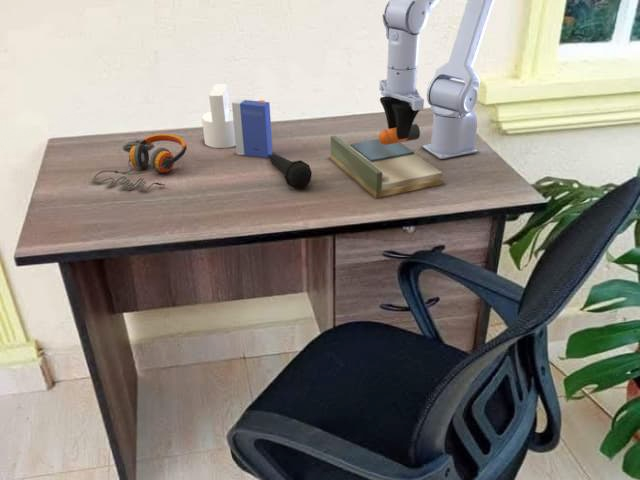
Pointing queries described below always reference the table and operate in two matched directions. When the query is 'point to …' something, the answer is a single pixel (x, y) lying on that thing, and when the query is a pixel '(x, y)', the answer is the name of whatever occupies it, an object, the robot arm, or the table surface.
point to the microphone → (292, 171)
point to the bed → (384, 166)
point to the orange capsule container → (391, 135)
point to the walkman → (252, 128)
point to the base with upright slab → (219, 119)
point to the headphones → (159, 159)
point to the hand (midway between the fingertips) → (398, 135)
